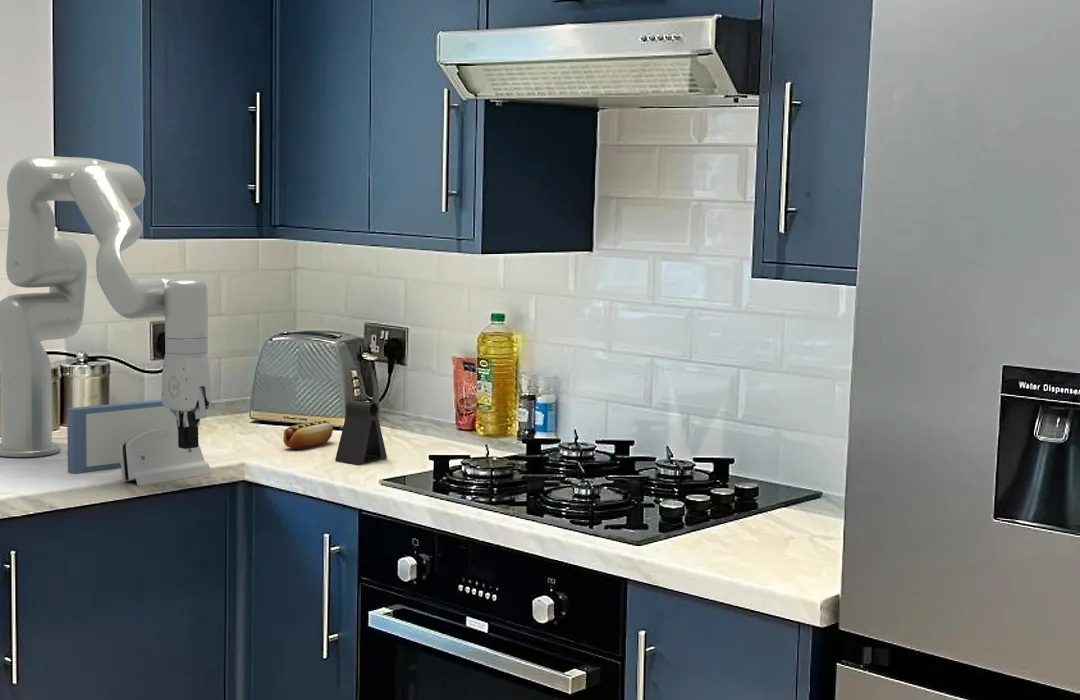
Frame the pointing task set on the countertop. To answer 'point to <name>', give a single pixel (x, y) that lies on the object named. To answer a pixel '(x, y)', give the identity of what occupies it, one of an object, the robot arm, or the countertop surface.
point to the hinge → (159, 458)
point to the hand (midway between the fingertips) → (188, 447)
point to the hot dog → (308, 434)
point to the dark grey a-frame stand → (361, 435)
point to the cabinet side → (110, 431)
